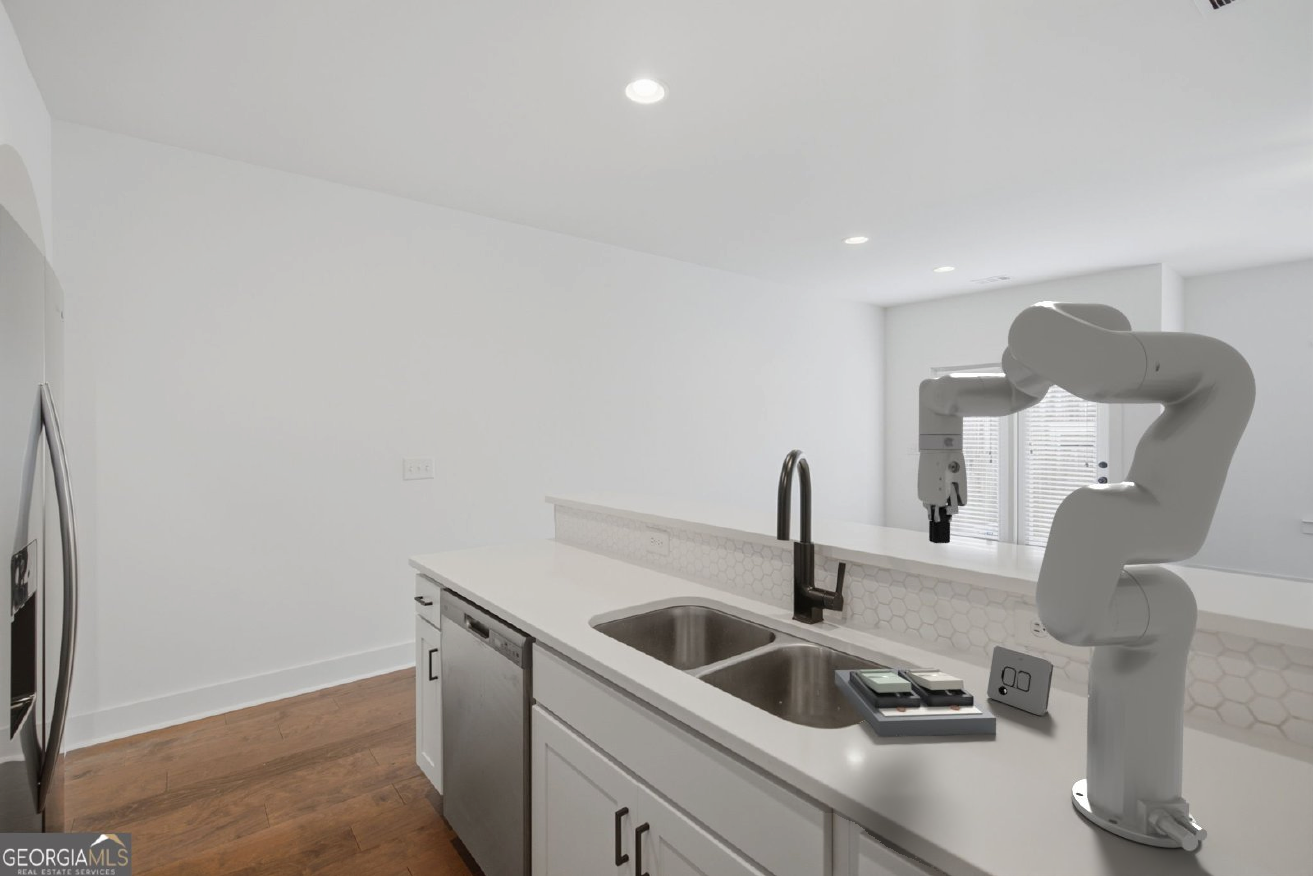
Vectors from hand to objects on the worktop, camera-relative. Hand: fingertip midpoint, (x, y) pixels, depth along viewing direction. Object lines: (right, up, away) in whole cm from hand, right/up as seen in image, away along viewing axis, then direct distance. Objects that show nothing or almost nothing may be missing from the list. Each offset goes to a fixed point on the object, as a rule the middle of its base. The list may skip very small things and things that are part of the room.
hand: (939, 542), depth 117 cm
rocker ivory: (-5, -23, -8) cm, 24 cm away
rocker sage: (-14, -23, -9) cm, 28 cm away
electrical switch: (+11, -27, -7) cm, 30 cm away
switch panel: (-9, -27, -8) cm, 30 cm away
